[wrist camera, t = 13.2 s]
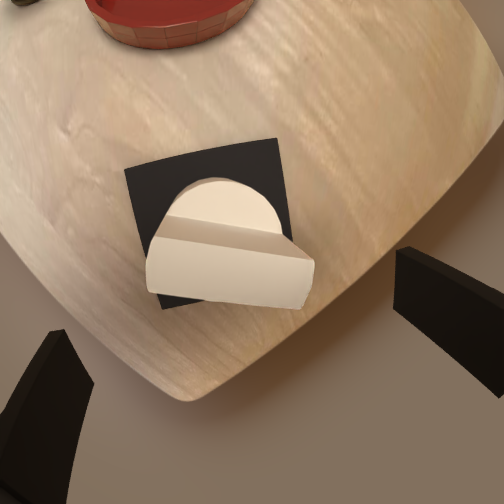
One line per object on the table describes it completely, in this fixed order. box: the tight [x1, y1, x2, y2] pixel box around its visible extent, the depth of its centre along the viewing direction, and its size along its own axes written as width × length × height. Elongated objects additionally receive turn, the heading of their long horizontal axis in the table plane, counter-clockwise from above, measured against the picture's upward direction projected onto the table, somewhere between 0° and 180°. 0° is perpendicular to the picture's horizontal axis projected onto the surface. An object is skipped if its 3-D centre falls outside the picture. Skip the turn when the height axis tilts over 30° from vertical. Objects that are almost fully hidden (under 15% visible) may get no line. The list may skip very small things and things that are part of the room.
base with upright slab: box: [145, 177, 315, 310], centre depth 20 cm, size 9×9×12 cm
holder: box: [124, 138, 293, 309], centre depth 26 cm, size 14×14×1 cm
